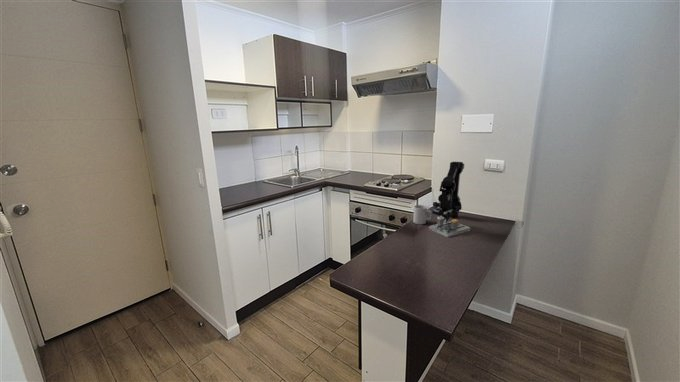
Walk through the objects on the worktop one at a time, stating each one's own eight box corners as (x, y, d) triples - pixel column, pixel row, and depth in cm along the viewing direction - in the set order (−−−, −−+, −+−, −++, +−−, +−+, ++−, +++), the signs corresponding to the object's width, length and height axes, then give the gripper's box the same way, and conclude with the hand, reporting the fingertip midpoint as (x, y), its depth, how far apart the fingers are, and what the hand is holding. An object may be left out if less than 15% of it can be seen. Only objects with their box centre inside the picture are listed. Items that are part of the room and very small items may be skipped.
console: (450, 223, 187) (451, 218, 186) (470, 230, 174) (470, 225, 173) (428, 229, 178) (429, 224, 177) (447, 237, 165) (447, 232, 164)
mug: (411, 223, 189) (412, 207, 186) (414, 219, 196) (415, 204, 193) (429, 225, 183) (430, 210, 181) (432, 221, 190) (433, 206, 188)
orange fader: (454, 227, 173) (454, 219, 172) (457, 228, 171) (457, 220, 170) (450, 228, 172) (450, 220, 170) (453, 229, 170) (454, 221, 168)
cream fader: (440, 224, 179) (441, 216, 178) (443, 225, 177) (444, 217, 175) (436, 225, 177) (437, 217, 176) (439, 226, 175) (440, 218, 174)
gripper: (447, 194, 186) (445, 216, 190) (426, 198, 178) (425, 221, 181) (461, 198, 177) (459, 221, 180) (440, 202, 168) (438, 227, 172)
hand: (445, 222), depth 179 cm, fingers closed
